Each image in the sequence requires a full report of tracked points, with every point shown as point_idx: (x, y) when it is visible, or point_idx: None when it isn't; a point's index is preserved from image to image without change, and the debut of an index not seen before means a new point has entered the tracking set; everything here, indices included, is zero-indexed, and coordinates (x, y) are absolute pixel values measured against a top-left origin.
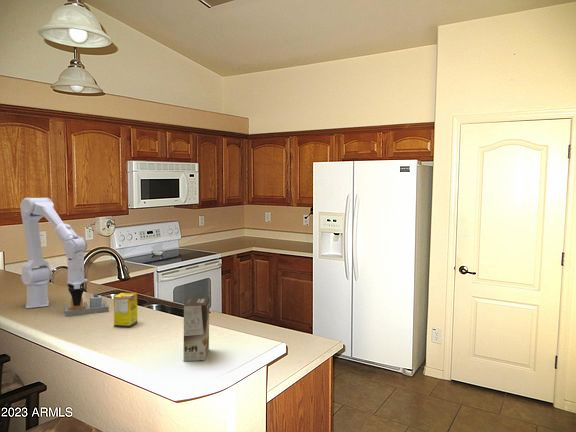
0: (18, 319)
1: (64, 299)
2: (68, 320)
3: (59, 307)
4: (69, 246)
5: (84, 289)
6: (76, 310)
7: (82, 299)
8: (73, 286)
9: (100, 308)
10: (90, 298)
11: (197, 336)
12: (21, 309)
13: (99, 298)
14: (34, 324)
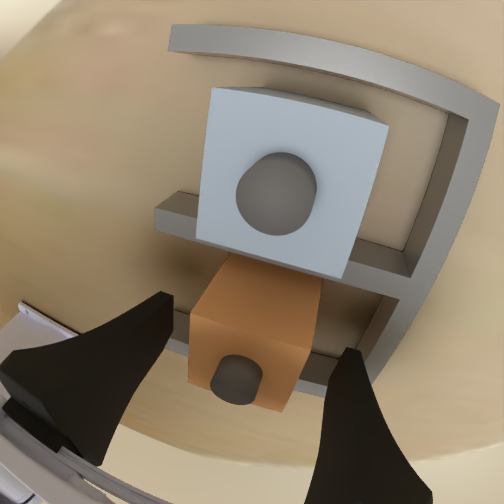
0: (253, 456)
1: (3, 242)
2: (445, 382)
3: None
4: None
5: (431, 499)
6: (389, 358)
7: (310, 351)
8: (96, 433)
9: (471, 179)
10: (300, 262)
11: None
12: None
13: (377, 158)
14: None
